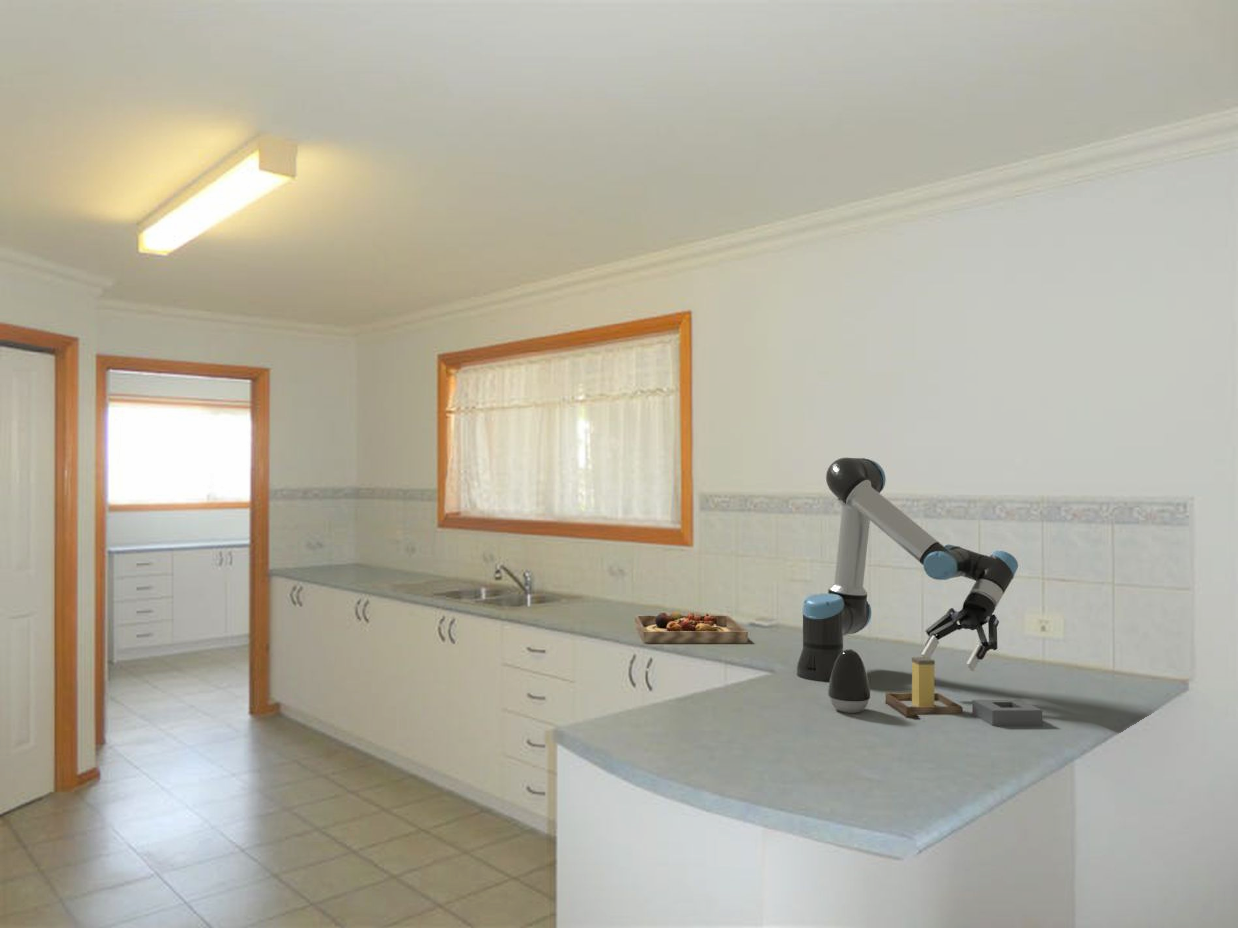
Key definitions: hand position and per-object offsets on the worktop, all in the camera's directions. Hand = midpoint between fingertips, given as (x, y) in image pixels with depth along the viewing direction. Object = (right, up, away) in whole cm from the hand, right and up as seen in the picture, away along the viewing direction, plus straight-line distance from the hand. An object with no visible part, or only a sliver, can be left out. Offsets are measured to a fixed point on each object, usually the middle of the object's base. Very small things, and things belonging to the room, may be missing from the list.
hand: (946, 662), depth 227 cm
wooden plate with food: (-59, -13, +100) cm, 117 cm away
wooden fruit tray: (-59, -12, +100) cm, 117 cm away
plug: (-8, -10, -5) cm, 14 cm away
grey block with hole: (+8, -11, -18) cm, 22 cm away
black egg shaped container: (-27, -11, -7) cm, 30 cm away
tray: (-8, -11, -6) cm, 15 cm away
